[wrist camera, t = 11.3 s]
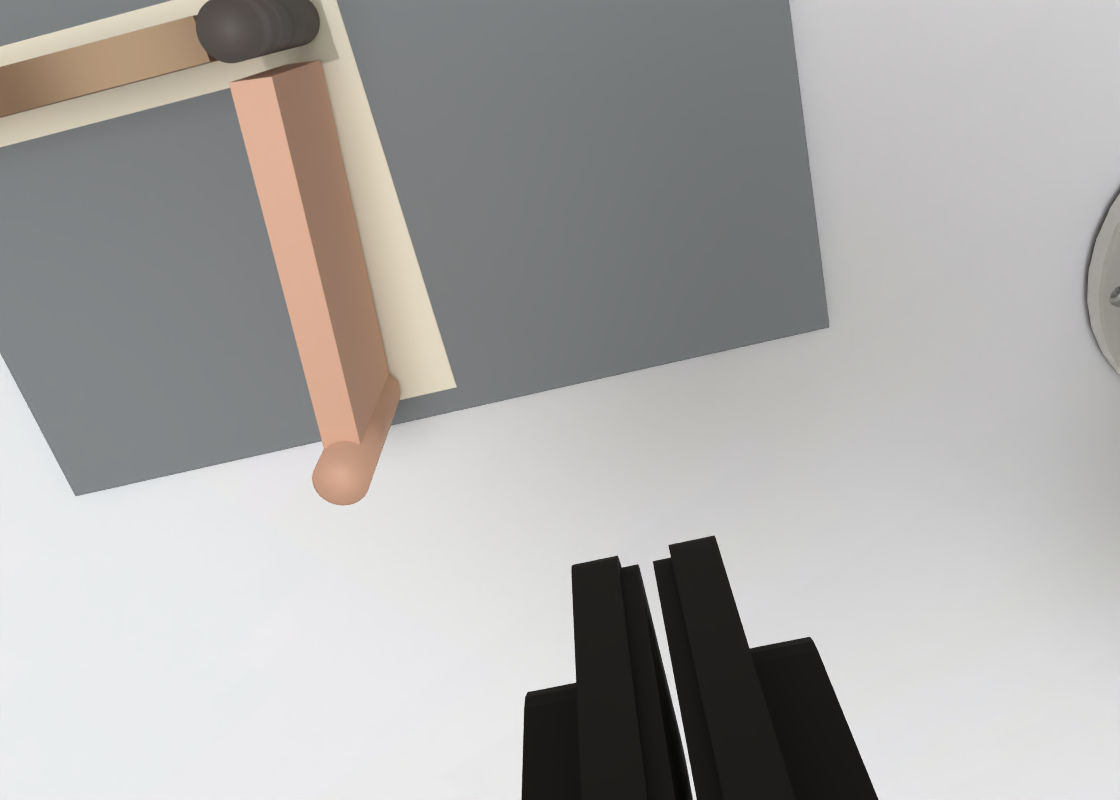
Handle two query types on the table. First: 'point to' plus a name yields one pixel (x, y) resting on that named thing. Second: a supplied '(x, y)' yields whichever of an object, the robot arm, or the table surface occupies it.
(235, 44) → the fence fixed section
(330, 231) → the fence swing section
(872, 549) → the table surface
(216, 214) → the mat
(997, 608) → the table surface
